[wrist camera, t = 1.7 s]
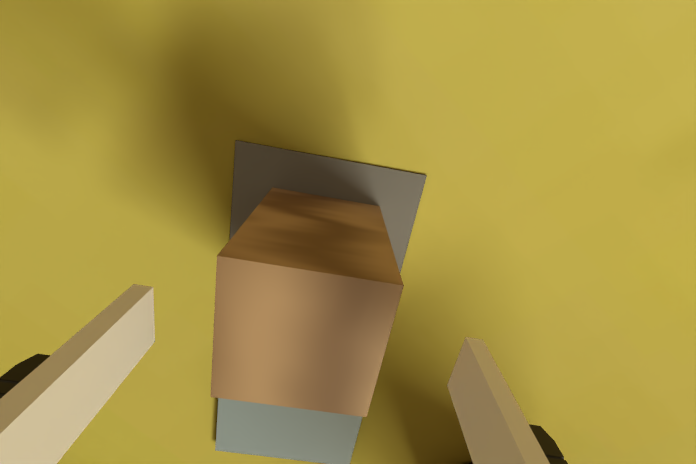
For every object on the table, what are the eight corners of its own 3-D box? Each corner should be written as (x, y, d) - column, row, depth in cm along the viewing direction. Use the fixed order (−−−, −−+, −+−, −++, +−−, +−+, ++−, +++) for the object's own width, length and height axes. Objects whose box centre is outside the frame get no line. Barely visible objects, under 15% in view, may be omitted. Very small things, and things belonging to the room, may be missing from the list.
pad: (217, 443, 31) (215, 450, 30) (224, 337, 26) (221, 342, 26) (348, 459, 31) (348, 466, 31) (376, 359, 27) (376, 364, 26)
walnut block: (262, 281, 24) (210, 396, 15) (272, 187, 22) (217, 255, 12) (358, 296, 25) (366, 417, 15) (379, 206, 22) (403, 285, 13)
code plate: (226, 304, 25) (225, 305, 25) (236, 140, 21) (235, 140, 21) (384, 328, 26) (384, 329, 26) (426, 175, 22) (426, 175, 21)
